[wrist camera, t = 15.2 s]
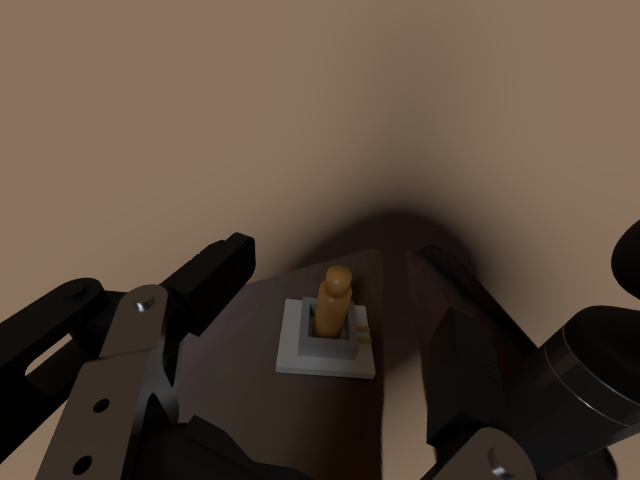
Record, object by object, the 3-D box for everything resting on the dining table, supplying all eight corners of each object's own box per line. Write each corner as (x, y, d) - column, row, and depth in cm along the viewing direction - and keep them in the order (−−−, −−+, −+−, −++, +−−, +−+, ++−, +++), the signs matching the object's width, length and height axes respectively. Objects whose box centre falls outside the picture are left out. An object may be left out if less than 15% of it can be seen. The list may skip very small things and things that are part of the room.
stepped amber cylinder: (339, 321, 43) (354, 263, 35) (340, 346, 40) (358, 288, 32) (312, 319, 43) (322, 260, 35) (311, 344, 40) (322, 285, 32)
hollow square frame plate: (364, 311, 48) (369, 294, 45) (374, 379, 38) (382, 362, 35) (285, 304, 47) (286, 286, 44) (275, 371, 37) (276, 354, 34)
